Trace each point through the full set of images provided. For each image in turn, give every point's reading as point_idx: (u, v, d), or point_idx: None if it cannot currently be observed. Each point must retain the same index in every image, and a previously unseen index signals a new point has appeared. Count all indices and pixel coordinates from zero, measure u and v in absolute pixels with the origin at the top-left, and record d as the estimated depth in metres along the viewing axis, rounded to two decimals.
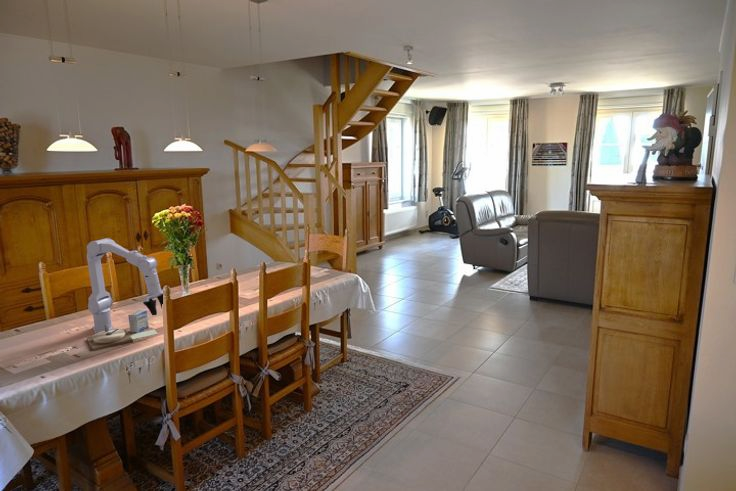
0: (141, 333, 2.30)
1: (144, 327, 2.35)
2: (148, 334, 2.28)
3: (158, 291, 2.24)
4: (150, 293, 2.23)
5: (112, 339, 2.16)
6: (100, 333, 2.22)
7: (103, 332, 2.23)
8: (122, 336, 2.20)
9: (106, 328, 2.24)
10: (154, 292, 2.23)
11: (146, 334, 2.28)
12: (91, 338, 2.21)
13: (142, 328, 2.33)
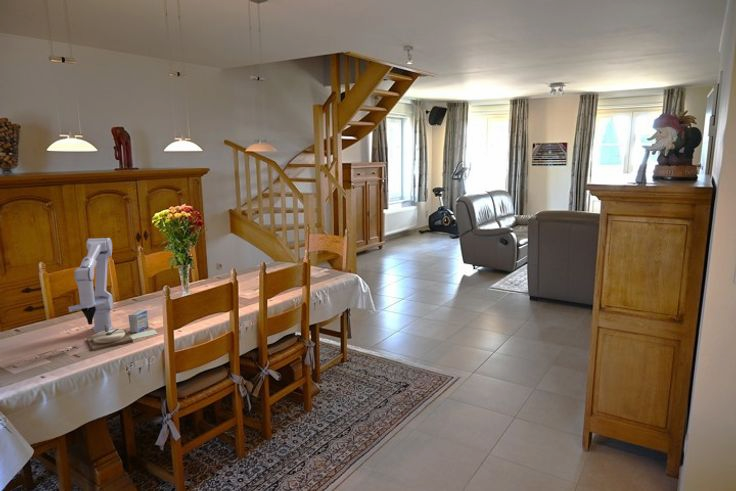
0: (141, 333, 2.30)
1: (144, 327, 2.35)
2: (148, 334, 2.28)
3: (86, 304, 2.15)
4: (80, 303, 2.16)
5: (112, 339, 2.16)
6: (100, 333, 2.22)
7: (103, 332, 2.23)
8: (122, 336, 2.20)
9: (106, 328, 2.24)
10: (82, 304, 2.15)
11: (146, 334, 2.28)
12: (91, 338, 2.21)
13: (142, 328, 2.33)
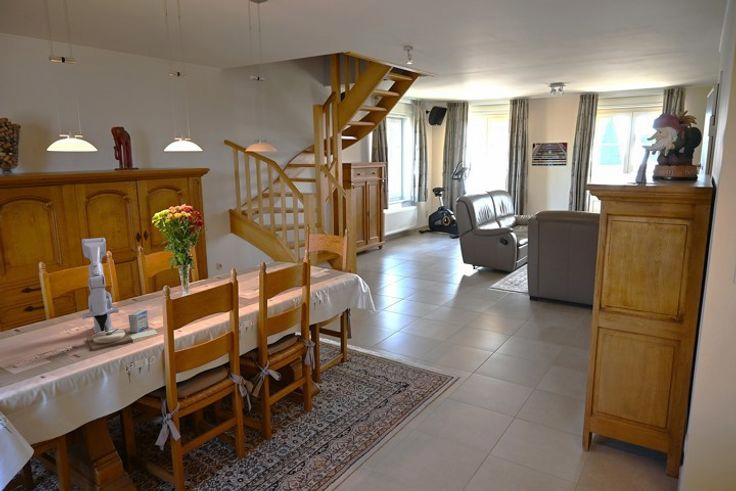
0: (141, 333, 2.30)
1: (144, 327, 2.35)
2: (148, 334, 2.28)
3: (98, 311, 2.18)
4: (92, 310, 2.19)
5: (112, 339, 2.16)
6: (100, 333, 2.22)
7: (103, 332, 2.23)
8: (122, 336, 2.20)
9: (106, 328, 2.24)
10: (94, 311, 2.18)
11: (146, 334, 2.28)
12: (91, 338, 2.21)
13: (142, 328, 2.33)
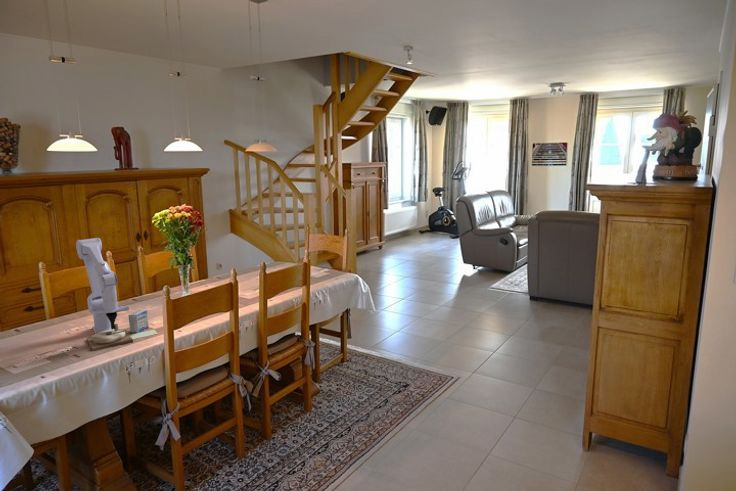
0: (141, 333, 2.30)
1: (144, 327, 2.35)
2: (148, 334, 2.28)
3: (109, 309, 2.20)
4: (103, 308, 2.22)
5: (99, 340, 2.14)
6: (109, 331, 2.25)
7: (112, 330, 2.25)
8: (111, 340, 2.15)
9: None
10: (105, 309, 2.20)
11: (146, 334, 2.28)
12: (91, 338, 2.21)
13: (142, 328, 2.33)
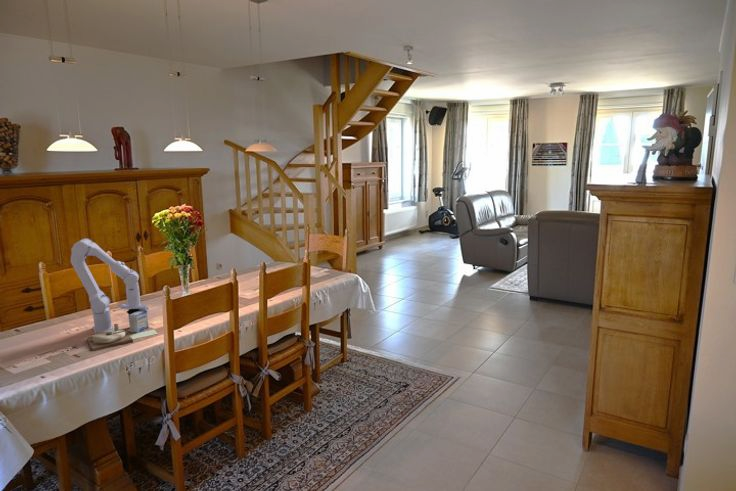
0: (141, 333, 2.30)
1: (144, 327, 2.35)
2: (148, 334, 2.28)
3: (128, 305, 2.35)
4: None
5: (99, 340, 2.14)
6: (109, 331, 2.25)
7: (112, 330, 2.25)
8: (111, 340, 2.15)
9: (114, 327, 2.24)
10: (127, 304, 2.37)
11: (146, 334, 2.28)
12: (91, 338, 2.21)
13: (142, 328, 2.33)
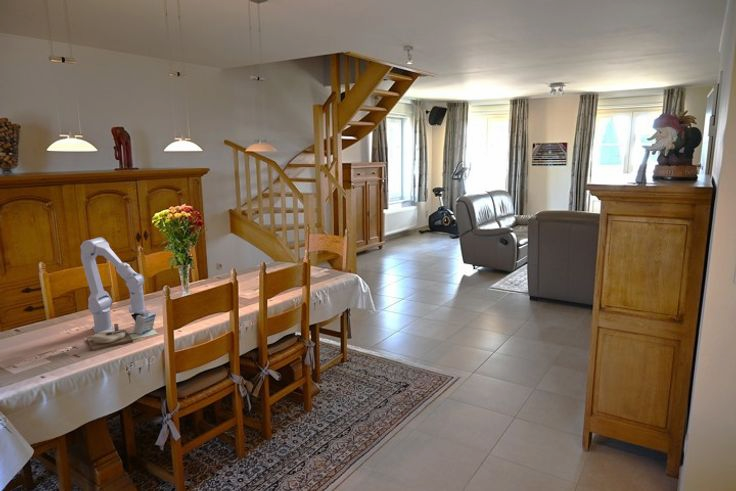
0: None
1: (148, 330, 2.31)
2: (148, 334, 2.28)
3: (131, 308, 2.30)
4: None
5: (99, 340, 2.14)
6: (109, 331, 2.25)
7: (112, 330, 2.25)
8: (111, 340, 2.15)
9: (114, 327, 2.24)
10: None
11: (146, 334, 2.28)
12: (91, 338, 2.21)
13: (146, 331, 2.30)
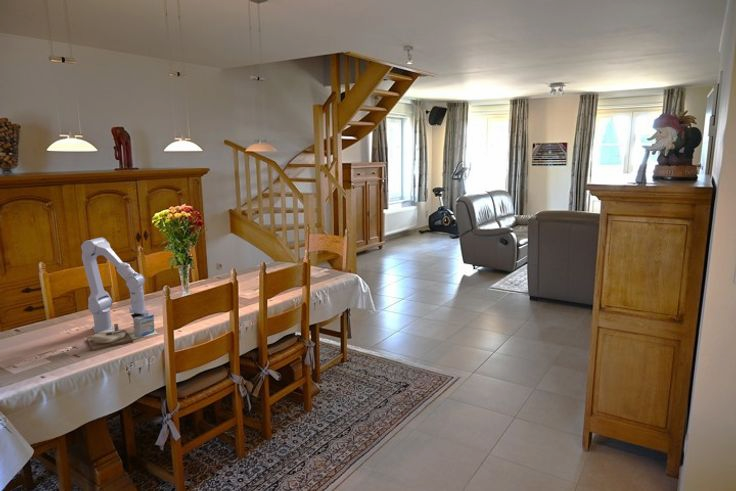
0: None
1: (149, 331, 2.29)
2: (148, 334, 2.28)
3: (131, 308, 2.29)
4: None
5: (99, 340, 2.14)
6: (109, 331, 2.25)
7: (112, 330, 2.25)
8: (111, 340, 2.15)
9: (114, 327, 2.24)
10: None
11: None
12: (91, 338, 2.21)
13: (146, 332, 2.27)
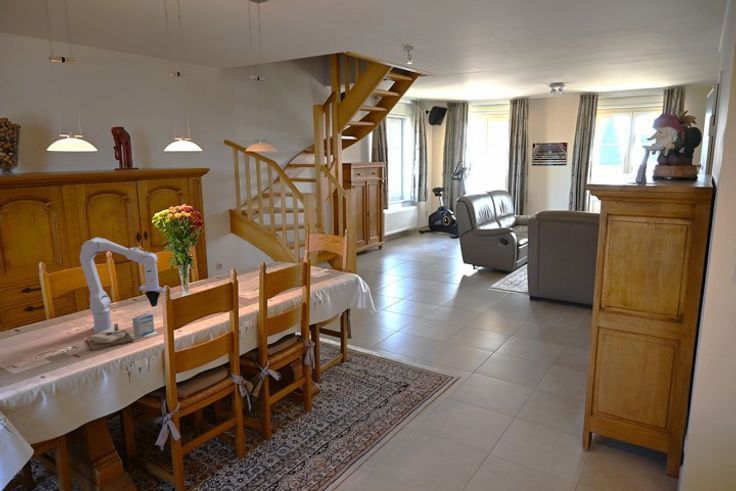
0: None
1: (149, 331, 2.29)
2: (148, 334, 2.28)
3: (146, 287, 2.33)
4: None
5: (99, 340, 2.14)
6: (109, 331, 2.25)
7: (112, 330, 2.25)
8: (111, 340, 2.15)
9: (114, 327, 2.24)
10: None
11: None
12: (91, 338, 2.21)
13: (146, 332, 2.27)
